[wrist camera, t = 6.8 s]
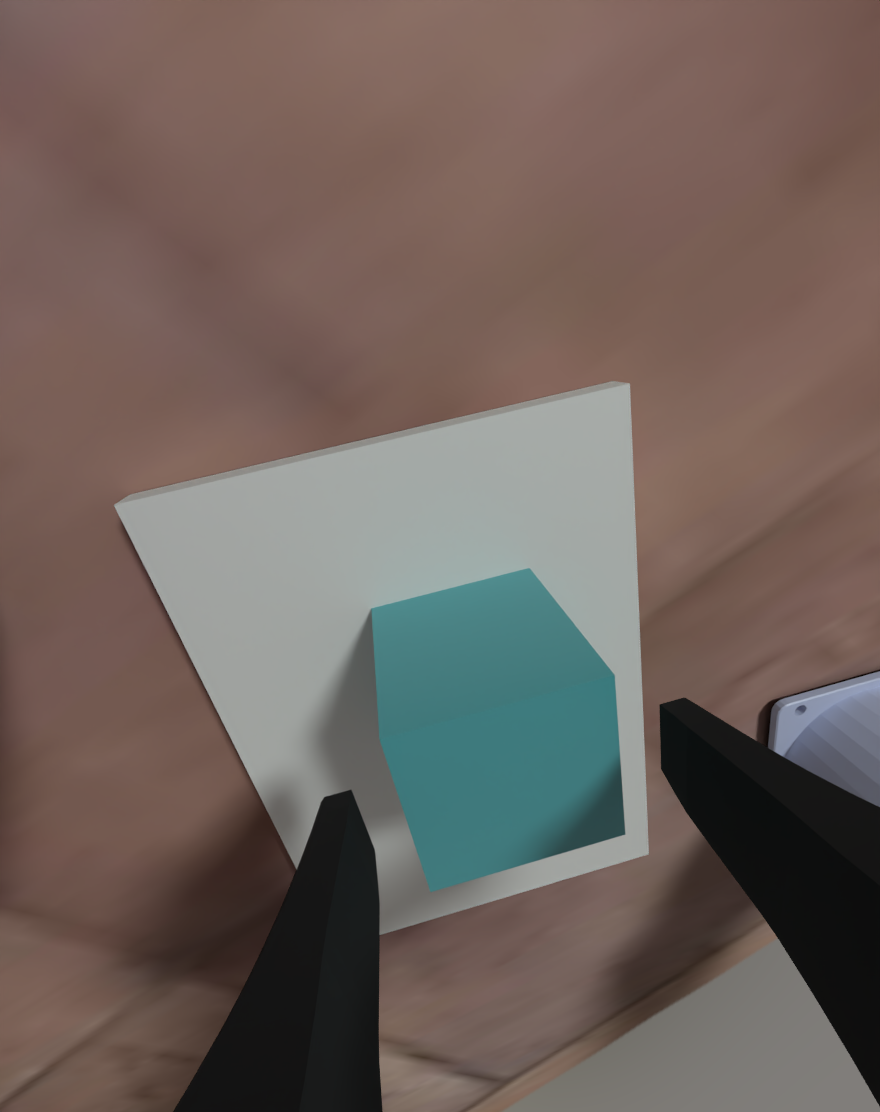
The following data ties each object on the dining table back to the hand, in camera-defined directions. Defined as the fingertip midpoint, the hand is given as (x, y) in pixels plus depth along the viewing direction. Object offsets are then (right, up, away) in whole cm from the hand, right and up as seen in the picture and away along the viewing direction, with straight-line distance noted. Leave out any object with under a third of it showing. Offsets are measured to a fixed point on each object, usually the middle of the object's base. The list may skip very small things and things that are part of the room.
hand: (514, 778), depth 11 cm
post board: (-1, -1, +7) cm, 7 cm away
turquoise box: (-1, +2, +5) cm, 5 cm away
